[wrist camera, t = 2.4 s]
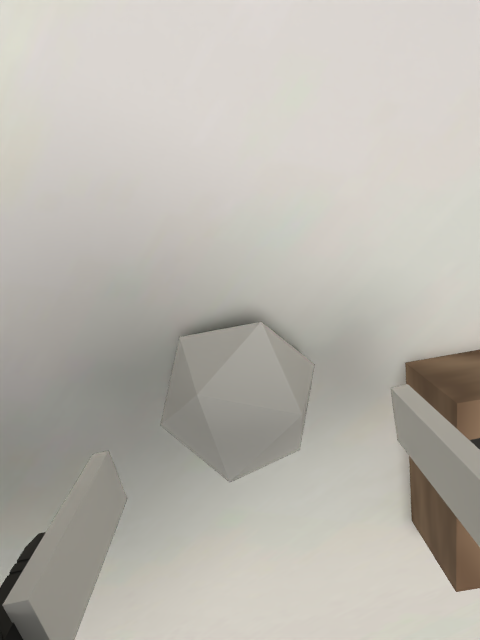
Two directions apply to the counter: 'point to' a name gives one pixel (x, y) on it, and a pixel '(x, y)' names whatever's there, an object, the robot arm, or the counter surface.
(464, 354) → the walnut block
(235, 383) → the die
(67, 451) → the counter surface
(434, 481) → the robot arm
